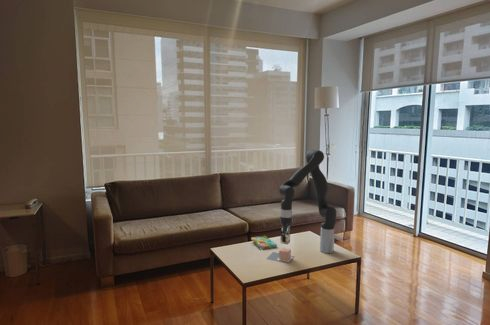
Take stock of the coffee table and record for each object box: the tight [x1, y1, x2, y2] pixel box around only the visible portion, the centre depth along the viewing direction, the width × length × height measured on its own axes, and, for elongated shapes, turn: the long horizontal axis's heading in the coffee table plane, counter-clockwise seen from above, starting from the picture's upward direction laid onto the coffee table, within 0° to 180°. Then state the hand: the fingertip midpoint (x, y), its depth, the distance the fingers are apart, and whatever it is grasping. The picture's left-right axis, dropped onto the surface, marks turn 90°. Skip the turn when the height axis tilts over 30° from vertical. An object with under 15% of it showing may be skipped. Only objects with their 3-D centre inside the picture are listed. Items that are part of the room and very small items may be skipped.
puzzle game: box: [250, 235, 278, 250], centre depth 243 cm, size 12×5×20 cm
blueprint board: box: [265, 251, 296, 265], centre depth 218 cm, size 16×13×2 cm
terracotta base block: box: [278, 247, 292, 261], centre depth 216 cm, size 6×6×6 cm
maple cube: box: [279, 234, 291, 245], centre depth 215 cm, size 5×5×5 cm
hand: (285, 240), depth 215 cm, fingers closed on maple cube, 5 cm apart
